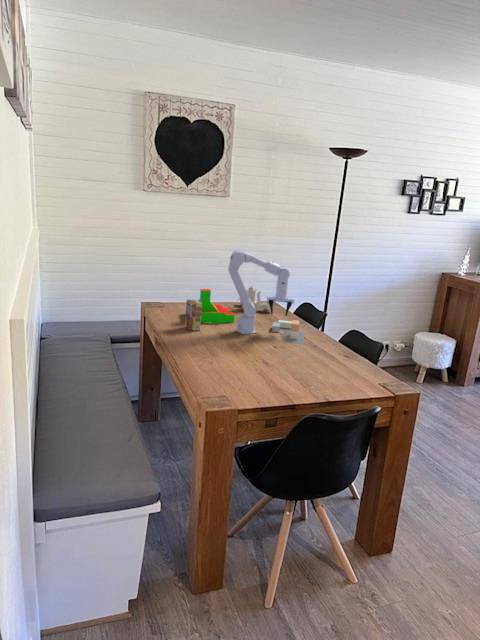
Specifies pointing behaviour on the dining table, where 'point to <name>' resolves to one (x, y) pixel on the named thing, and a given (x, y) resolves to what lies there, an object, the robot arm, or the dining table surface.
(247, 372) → the dining table surface
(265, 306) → the chinaware
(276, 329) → the slate brick
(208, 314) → the building blocks toy
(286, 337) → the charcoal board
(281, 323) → the sage brick
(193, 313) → the candy box
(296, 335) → the cream brick
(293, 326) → the terracotta brick
